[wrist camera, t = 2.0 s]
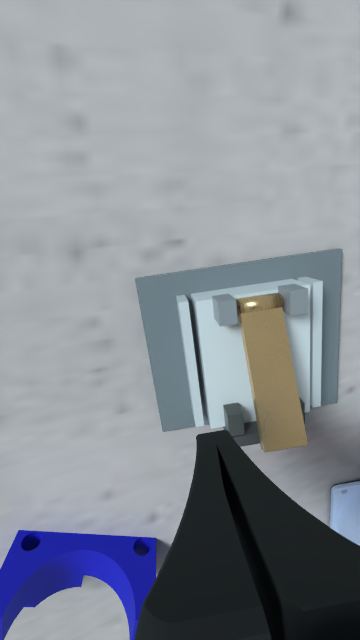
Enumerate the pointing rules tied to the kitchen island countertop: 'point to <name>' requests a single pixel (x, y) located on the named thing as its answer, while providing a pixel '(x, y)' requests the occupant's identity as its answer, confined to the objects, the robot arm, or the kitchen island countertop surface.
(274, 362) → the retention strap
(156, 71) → the kitchen island countertop surface
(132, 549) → the blue half clamp bracket
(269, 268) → the heat-sink board
